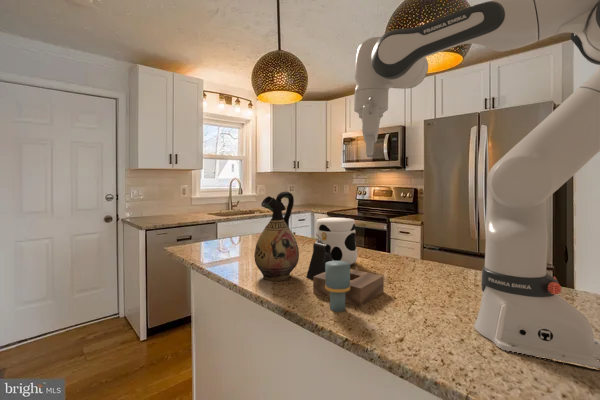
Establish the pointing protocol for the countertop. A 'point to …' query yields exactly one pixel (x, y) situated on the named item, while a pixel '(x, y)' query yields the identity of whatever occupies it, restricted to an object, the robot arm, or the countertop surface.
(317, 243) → the phone stand
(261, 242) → the ceramic jug
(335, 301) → the leg
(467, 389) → the countertop surface
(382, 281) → the board
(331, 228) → the milk container
